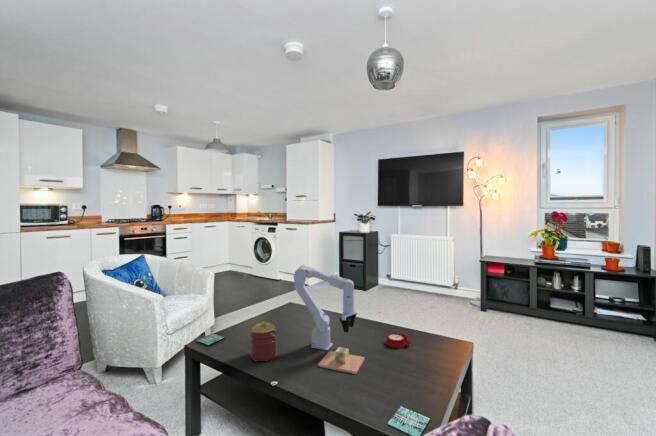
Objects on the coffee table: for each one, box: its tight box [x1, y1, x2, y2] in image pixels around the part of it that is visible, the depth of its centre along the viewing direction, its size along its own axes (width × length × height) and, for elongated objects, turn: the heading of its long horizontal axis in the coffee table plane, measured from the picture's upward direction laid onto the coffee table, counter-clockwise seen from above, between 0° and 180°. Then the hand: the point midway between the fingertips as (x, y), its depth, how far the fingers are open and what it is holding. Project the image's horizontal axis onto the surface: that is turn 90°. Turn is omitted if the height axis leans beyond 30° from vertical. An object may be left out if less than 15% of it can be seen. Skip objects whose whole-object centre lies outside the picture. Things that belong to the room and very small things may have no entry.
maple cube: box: [334, 346, 350, 364], centre depth 146 cm, size 5×5×5 cm
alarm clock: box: [382, 332, 414, 349], centre depth 166 cm, size 10×6×15 cm
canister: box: [249, 320, 278, 362], centre depth 153 cm, size 13×13×18 cm
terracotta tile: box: [317, 350, 365, 375], centre depth 146 cm, size 18×14×1 cm
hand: (348, 329), depth 162 cm, fingers open, 7 cm apart
